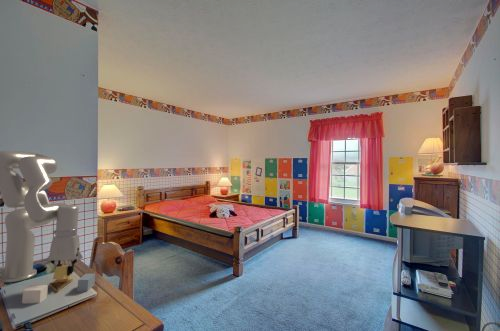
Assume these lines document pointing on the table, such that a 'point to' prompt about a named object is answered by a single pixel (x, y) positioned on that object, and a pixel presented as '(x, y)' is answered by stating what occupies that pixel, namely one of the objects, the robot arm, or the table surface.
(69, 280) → the shard
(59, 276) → the mustard brick
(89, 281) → the slate brick
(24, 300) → the cream brick
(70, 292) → the table surface
